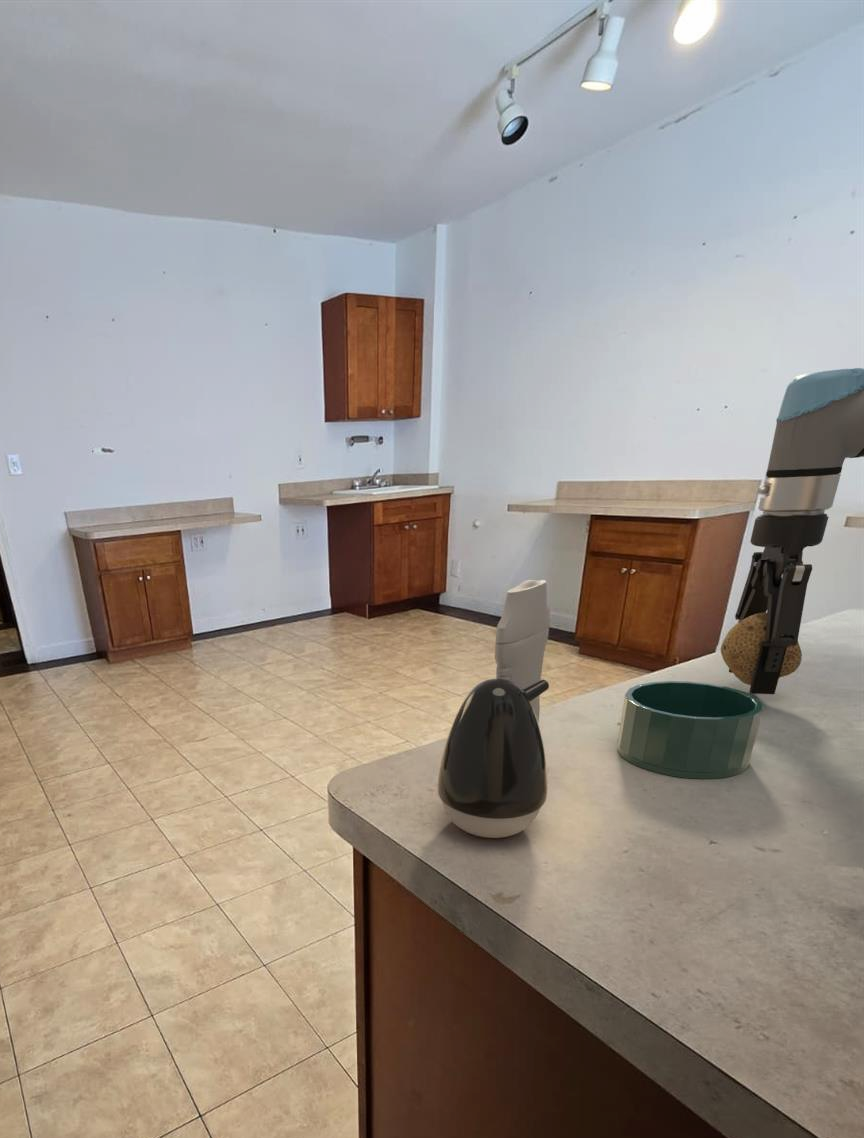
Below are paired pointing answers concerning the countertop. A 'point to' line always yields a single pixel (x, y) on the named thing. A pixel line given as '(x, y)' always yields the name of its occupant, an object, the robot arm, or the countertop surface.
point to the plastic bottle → (523, 636)
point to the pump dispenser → (494, 761)
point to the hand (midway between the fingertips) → (750, 682)
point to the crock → (689, 729)
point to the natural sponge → (753, 649)
